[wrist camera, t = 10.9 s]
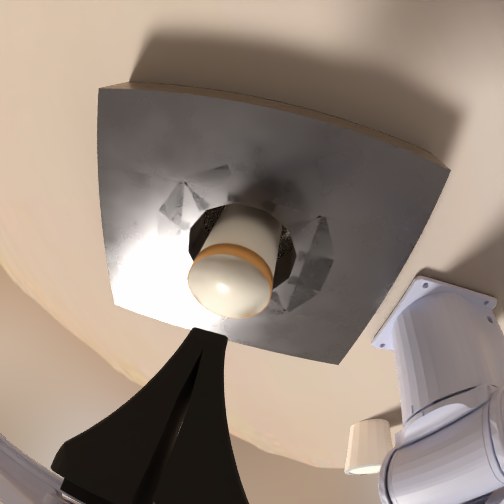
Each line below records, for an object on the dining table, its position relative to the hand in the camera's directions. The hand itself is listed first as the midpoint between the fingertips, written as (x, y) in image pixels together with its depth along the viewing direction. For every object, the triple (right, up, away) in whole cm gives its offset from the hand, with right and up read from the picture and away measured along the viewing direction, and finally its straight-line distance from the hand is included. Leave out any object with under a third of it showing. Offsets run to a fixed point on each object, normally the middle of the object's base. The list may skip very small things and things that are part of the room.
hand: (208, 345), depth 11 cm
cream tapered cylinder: (+18, -20, +23) cm, 35 cm away
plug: (+2, +5, +8) cm, 9 cm away
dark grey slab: (+2, +5, +8) cm, 9 cm away
